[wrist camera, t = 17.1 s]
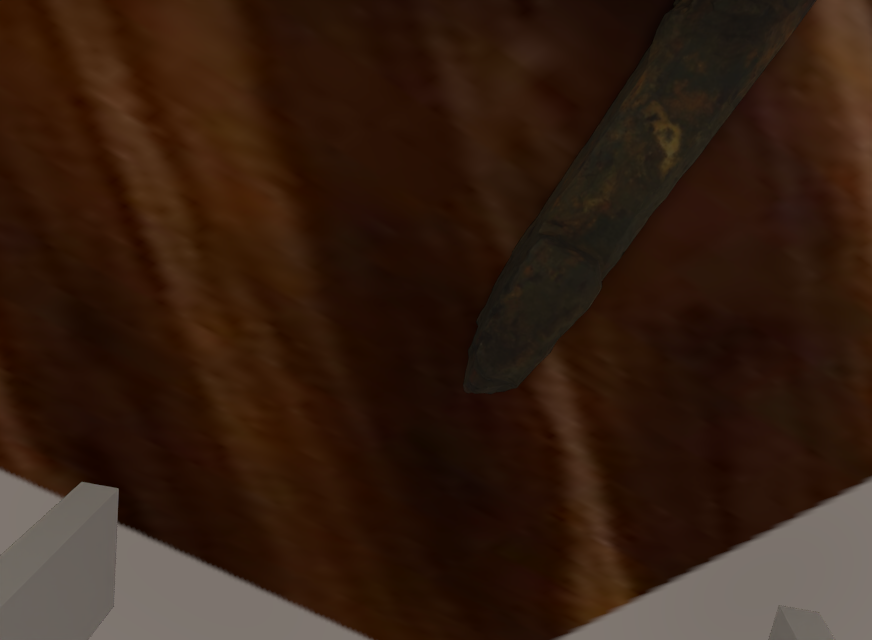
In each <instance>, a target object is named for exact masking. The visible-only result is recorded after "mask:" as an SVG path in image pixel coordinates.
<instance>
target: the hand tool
mask: <svg viewBox="0 0 872 640" xmlns="http://www.w3.org/2000/svg"><path fill="white" fill-rule="evenodd" d="M815 1H816V0H676V1H675V2H674V3H673V6H674V8H673V9H672V10H670V11H669V12H668V13H666V14H665V15H664V17H663V19H662V21H661V23H660V25H659V26H658V29H657V31H656V34H655V37H654V40H653V42H652V45H651V46H650V47H649V49H648V50H647V51H646V53H645V54H644V56H643V57H642V59H641V61H640V63H639V64H638V66H637V68H636V70H635V71H634V72H633V73H632V75H631V76H630V78H629V80H628V81H627V83H626V84H625V86H624V87H623V89H622V90H621V92H620V93H619V95H618V96H617V98H616V99H615V101H614V102H613V104H612V105H611V107H610V108H609V110H608V111H607V113H606V115H605V116H604V118H603V119H602V121H601V122H600V124H599V125H598V127H597V128H596V130H595V131H594V133H593V135H592V136H591V138H590V139H589V141H588V142H587V143H586V145H585V146H584V147H583V149H582V150H581V151H580V153H579V154H578V156H577V157H576V159H575V160H574V162H573V163H572V165H571V166H570V168H569V169H568V171H567V172H566V174H565V175H564V177H563V178H562V180H561V181H560V183H559V184H558V186H557V187H556V189H555V190H554V192H553V193H552V195H551V196H550V198H549V199H548V201H547V202H546V204H545V206H544V207H543V209H542V210H541V212H540V214H539V215H538V217H537V218H536V219H535V221H534V222H533V223H532V224H531V225H530V227H529V228H528V229H527V231H526V232H525V233H524V235H523V236H522V238H521V239H520V241H519V242H518V244H517V245H516V247H515V249H514V250H513V252H512V255H511V257H510V259H509V260H508V262H507V264H506V265H505V267H504V269H503V271H502V272H501V274H500V276H499V278H498V279H497V281H496V283H495V285H494V287H493V289H492V293H491V294H490V296H489V299H488V301H487V304H486V305H485V307H484V308H483V310H482V311H481V313H480V315H479V317H478V319H477V321H476V323H477V325H478V328H477V331H476V334H475V336H474V339H473V342H472V344H471V346H470V348H469V349H468V355H469V360H468V364H467V368H466V372H465V378H464V383H463V387H464V391H465V392H466V393H471V392H473V393H476V394H477V393H488V394H492V393H495V392H502V391H507V390H509V389H513V388H517V387H518V386H519V384H520V383H521V382H522V381H523V380H524V379H525V378H526V377H527V376H528V375H529V374H530V373H531V371H532V370H533V369H534V368H535V367H536V366H537V365H538V364H539V363H540V362H541V361H542V360H543V359H544V358H545V357H546V356H547V355H548V354H549V353H550V352H551V350H552V348H553V347H554V345H555V343H556V342H557V340H558V339H559V338H560V337H561V336H562V335H563V334H564V333H565V332H566V331H567V330H568V329H569V328H570V327H571V326H572V325H573V324H574V323H575V322H576V321H577V319H578V318H579V317H580V316H582V315H583V314H584V313H585V312H586V311H587V310H588V309H589V308H590V306H591V304H592V303H593V301H594V299H595V298H596V296H597V295H598V294H599V292H600V290H601V288H602V282H601V281H602V280H603V279H604V277H605V276H606V275H607V274H608V272H609V271H610V270H611V269H612V268H613V267H614V266H615V265H616V263H617V262H618V260H619V259H620V258H621V256H622V255H623V253H624V252H625V251H626V249H627V248H628V246H629V245H630V244H631V242H632V241H633V239H634V238H635V237H636V235H637V234H638V233H639V231H640V230H641V229H642V227H643V226H644V225H645V223H646V222H647V220H648V218H649V217H650V216H651V214H652V213H653V212H654V211H655V209H656V208H657V207H658V206H659V205H660V204H661V203H662V202H663V201H664V200H665V199H666V197H667V196H668V194H669V193H670V192H671V190H672V189H673V187H674V186H675V184H676V183H677V182H678V180H679V179H680V178H681V177H682V175H683V174H684V173H685V172H686V171H687V170H688V169H689V168H690V166H691V165H692V164H693V163H694V162H695V160H696V159H697V158H698V157H699V155H700V154H701V153H702V151H703V150H704V149H705V147H706V146H707V144H708V143H709V142H710V140H711V139H712V137H713V136H714V135H715V134H716V132H717V131H718V130H719V128H720V127H721V126H722V124H723V123H724V122H725V120H726V119H727V118H728V117H729V115H730V114H731V113H732V111H733V110H734V109H735V107H736V106H737V105H738V104H739V102H740V101H741V100H742V98H743V97H744V96H745V94H746V93H747V92H748V90H749V89H750V88H751V86H752V85H753V84H754V82H755V81H756V80H757V78H758V77H759V76H760V75H761V73H762V72H763V71H764V69H765V68H766V66H767V65H768V64H769V63H770V61H771V60H772V59H773V58H774V56H775V55H776V54H777V53H778V51H779V50H780V49H781V47H782V46H783V45H784V43H785V42H786V41H787V39H788V38H789V37H790V35H791V34H792V33H793V31H794V30H795V29H796V27H797V26H798V25H799V23H800V22H801V20H802V19H803V18H804V16H805V15H806V14H807V12H808V11H809V10H810V8H811V7H812V5H813V4H814V3H815Z"/></svg>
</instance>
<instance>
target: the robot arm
mask: <svg viewBox="0 0 872 640" xmlns="http://www.w3.org/2000/svg"><path fill="white" fill-rule="evenodd" d="M118 494H119V488H113V487H108V486H102V485H96V484H91V483H85V482H81V483H80V484H79V485H78V486H77V487H75V488H74V489H73V490H72V491H71V492H70V493H69V494H68V495H67V496H65V497H64V498H63V499H62V500H61V501H60V502H59V503H58V504H57V505H56V506H54V507H53V508H52V509H51V510H50V511H49V512H48V513H47V514H46V515H44V516H43V517H42V518H41V519H40V520H39V521H38V522H37V523H36V524H35V525H33V526H32V527H31V528H30V529H29V530H28V531H27V532H26V533H25V534H23V535H22V536H21V537H20V538H19V539H18V540H17V541H16V542H15V543H14V544H12V545H11V546H10V547H9V548H8V549H7V550H6V551H5V552H4V553H3V554H1V555H0V640H88V639H89V638H90V637H91V635H92V634H93V633H94V631H95V630H96V629H97V627H98V626H99V625H100V624H101V622H102V621H103V620H104V618H105V617H106V616H107V615H108V613H109V612H110V610H111V609H112V608H113V607H114V586H115V564H116V539H117V518H118ZM769 640H835V638H834V637H833V635H832V634H831V632H830V630H829V628H828V627H827V625H826V623H825V622H824V620H823V618H822V617H821V615H820V614H819V612H814V611H809V610H803V609H797V608H791V607H786V606H780V605H779V607H778V610H777V614H776V617H775V620H774V623H773V626H772V630H771V633H770V636H769Z"/></svg>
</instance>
